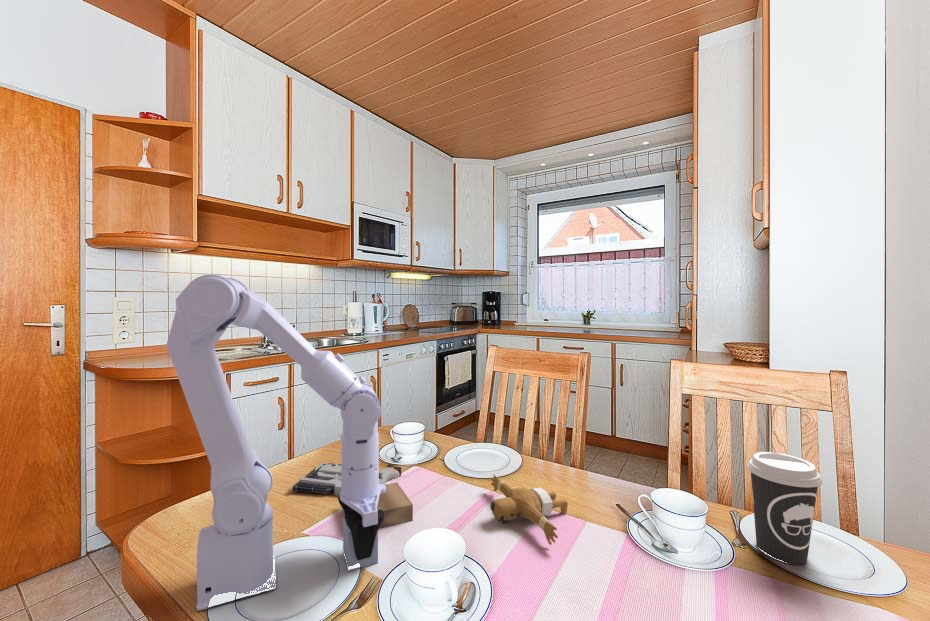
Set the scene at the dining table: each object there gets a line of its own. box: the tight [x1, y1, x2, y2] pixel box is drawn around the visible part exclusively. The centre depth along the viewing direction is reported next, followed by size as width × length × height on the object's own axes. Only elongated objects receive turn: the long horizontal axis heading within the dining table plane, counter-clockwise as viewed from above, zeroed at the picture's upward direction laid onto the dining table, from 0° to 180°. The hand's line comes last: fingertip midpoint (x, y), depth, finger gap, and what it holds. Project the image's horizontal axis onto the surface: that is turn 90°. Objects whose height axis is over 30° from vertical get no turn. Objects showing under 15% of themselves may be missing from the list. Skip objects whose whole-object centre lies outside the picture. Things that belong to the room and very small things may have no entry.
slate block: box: [342, 516, 379, 568], centre depth 64 cm, size 4×4×6 cm
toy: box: [490, 474, 569, 546], centre depth 76 cm, size 16×16×5 cm
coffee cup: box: [746, 451, 823, 566], centre depth 66 cm, size 10×10×15 cm
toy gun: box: [291, 462, 402, 497], centre depth 90 cm, size 3×20×15 cm
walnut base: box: [377, 482, 414, 529], centre depth 77 cm, size 10×10×3 cm
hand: (360, 548), depth 64 cm, fingers closed on slate block, 4 cm apart
